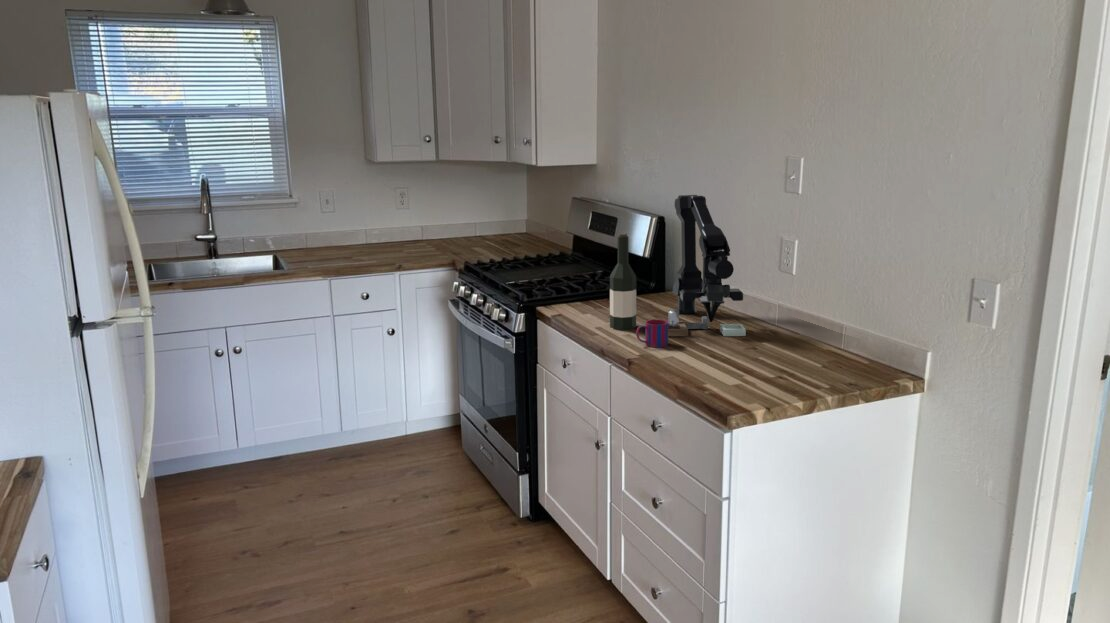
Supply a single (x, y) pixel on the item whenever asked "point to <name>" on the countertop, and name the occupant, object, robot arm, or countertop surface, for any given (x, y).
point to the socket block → (679, 330)
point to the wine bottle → (623, 290)
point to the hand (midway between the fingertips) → (710, 321)
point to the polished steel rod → (673, 319)
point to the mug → (655, 333)
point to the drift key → (698, 324)
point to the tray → (732, 330)
